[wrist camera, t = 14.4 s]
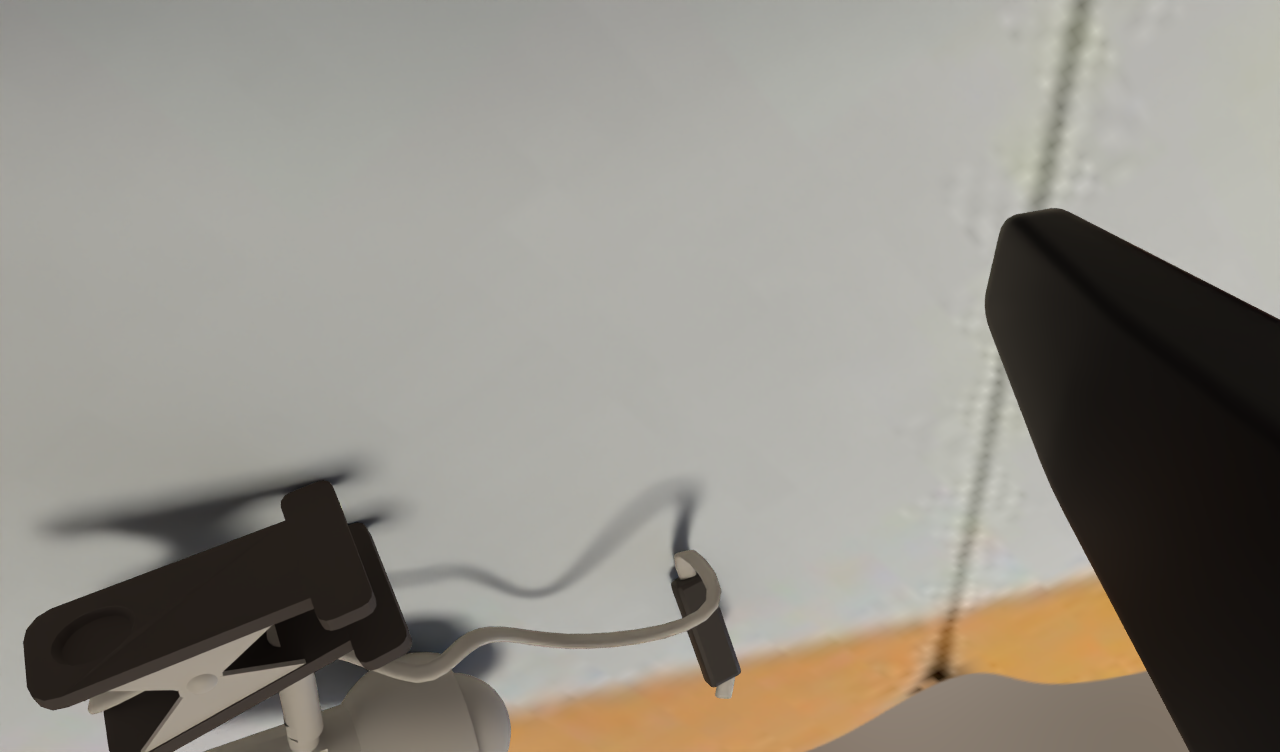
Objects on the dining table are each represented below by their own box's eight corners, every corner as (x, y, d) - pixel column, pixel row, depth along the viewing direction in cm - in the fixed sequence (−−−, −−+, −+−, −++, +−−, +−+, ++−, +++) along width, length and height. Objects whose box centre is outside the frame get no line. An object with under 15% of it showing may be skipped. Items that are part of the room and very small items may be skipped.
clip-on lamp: (706, 367, 33) (4, 543, 26) (827, 519, 28) (21, 777, 21) (670, 632, 40) (116, 822, 33) (762, 784, 36) (146, 1038, 29)
